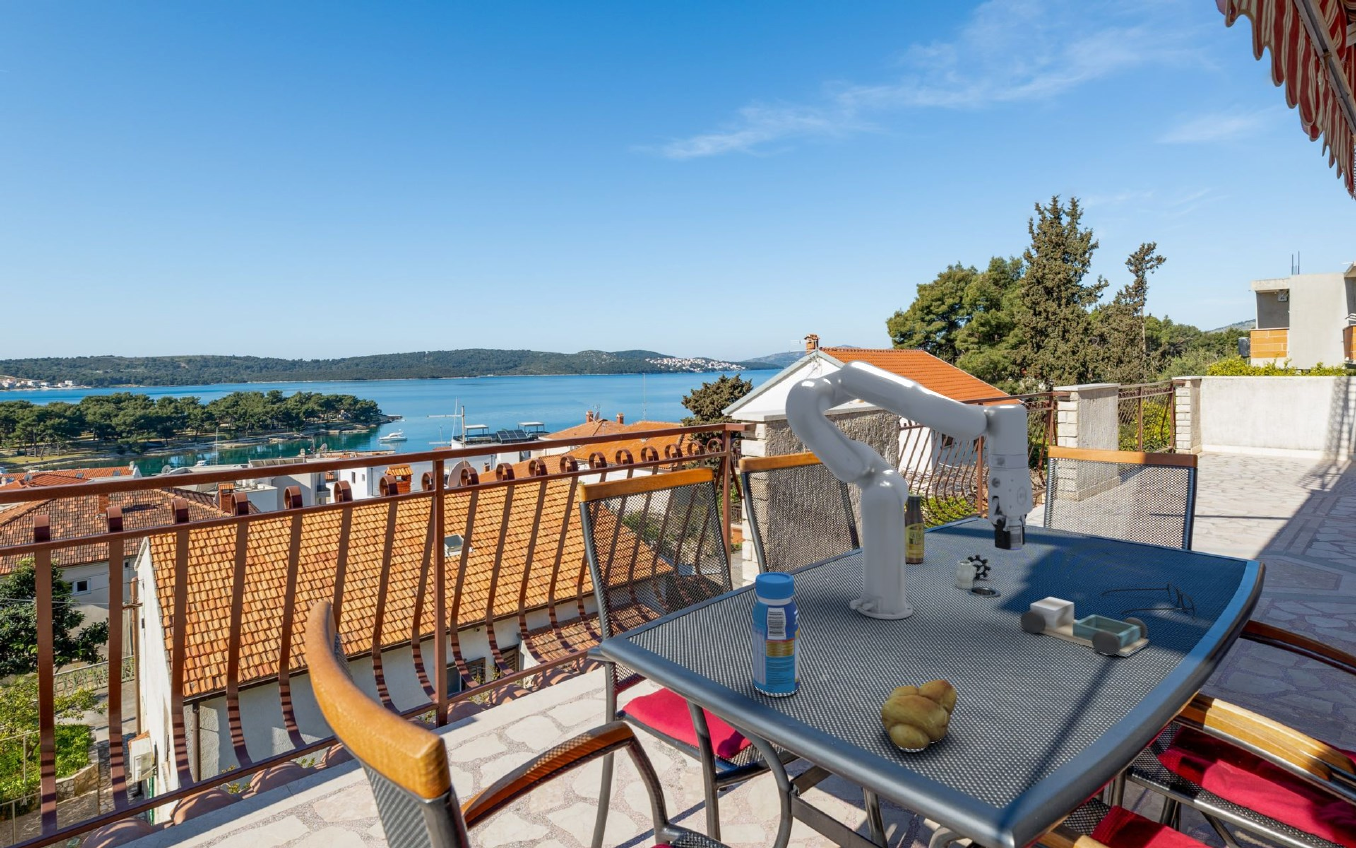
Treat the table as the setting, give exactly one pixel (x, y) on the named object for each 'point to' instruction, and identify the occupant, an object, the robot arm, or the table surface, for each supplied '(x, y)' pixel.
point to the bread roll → (919, 713)
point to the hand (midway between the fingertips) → (1009, 545)
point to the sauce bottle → (914, 530)
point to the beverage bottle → (775, 634)
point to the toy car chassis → (1084, 627)
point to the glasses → (1161, 608)
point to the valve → (970, 571)
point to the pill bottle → (1014, 534)
